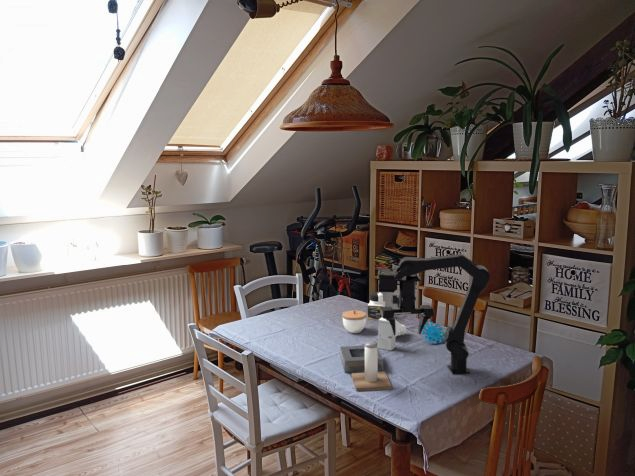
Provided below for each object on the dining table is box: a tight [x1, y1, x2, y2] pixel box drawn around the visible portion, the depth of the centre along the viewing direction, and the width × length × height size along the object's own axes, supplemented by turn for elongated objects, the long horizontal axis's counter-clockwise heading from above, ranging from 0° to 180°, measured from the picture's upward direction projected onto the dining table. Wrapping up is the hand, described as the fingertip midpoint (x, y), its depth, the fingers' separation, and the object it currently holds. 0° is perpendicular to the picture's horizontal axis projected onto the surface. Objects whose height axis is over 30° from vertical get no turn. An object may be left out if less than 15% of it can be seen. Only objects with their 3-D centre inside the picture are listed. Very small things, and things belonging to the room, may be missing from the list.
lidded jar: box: [342, 309, 368, 334], centre depth 237 cm, size 11×11×9 cm
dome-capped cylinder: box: [364, 340, 379, 382], centre depth 184 cm, size 4×4×13 cm
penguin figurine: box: [395, 320, 407, 338], centre depth 229 cm, size 6×8×12 cm
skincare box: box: [377, 318, 397, 351], centre depth 216 cm, size 6×4×12 cm
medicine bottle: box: [367, 291, 386, 321], centre depth 255 cm, size 7×7×12 cm
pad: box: [351, 371, 393, 392], centre depth 186 cm, size 12×12×1 cm
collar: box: [339, 345, 384, 374], centre depth 201 cm, size 14×14×4 cm
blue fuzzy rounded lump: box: [421, 321, 446, 345], centre depth 224 cm, size 11×6×10 cm
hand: (407, 334), depth 194 cm, fingers open, 9 cm apart
